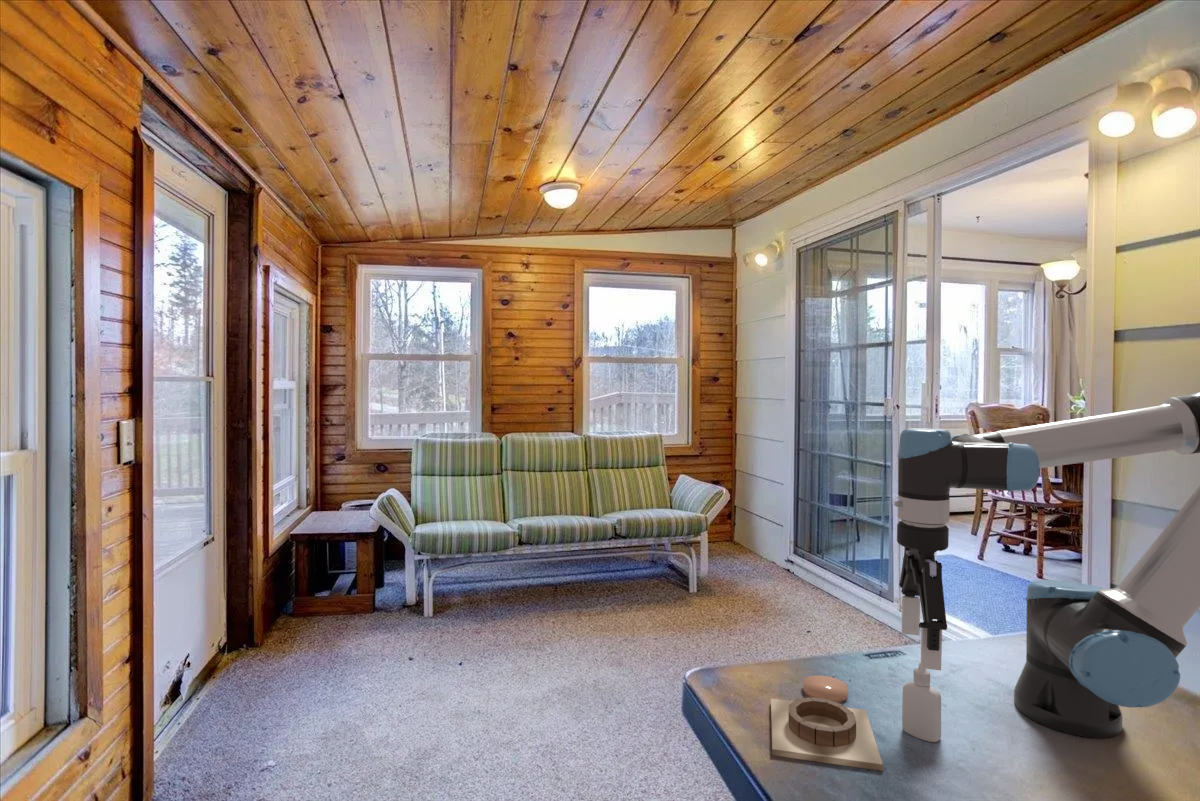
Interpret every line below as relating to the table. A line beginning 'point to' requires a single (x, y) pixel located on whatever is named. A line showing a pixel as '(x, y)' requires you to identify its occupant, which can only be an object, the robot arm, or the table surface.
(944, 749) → the table surface
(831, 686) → the peach domed part
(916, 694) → the eye dropper bottle
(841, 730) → the ring collar
